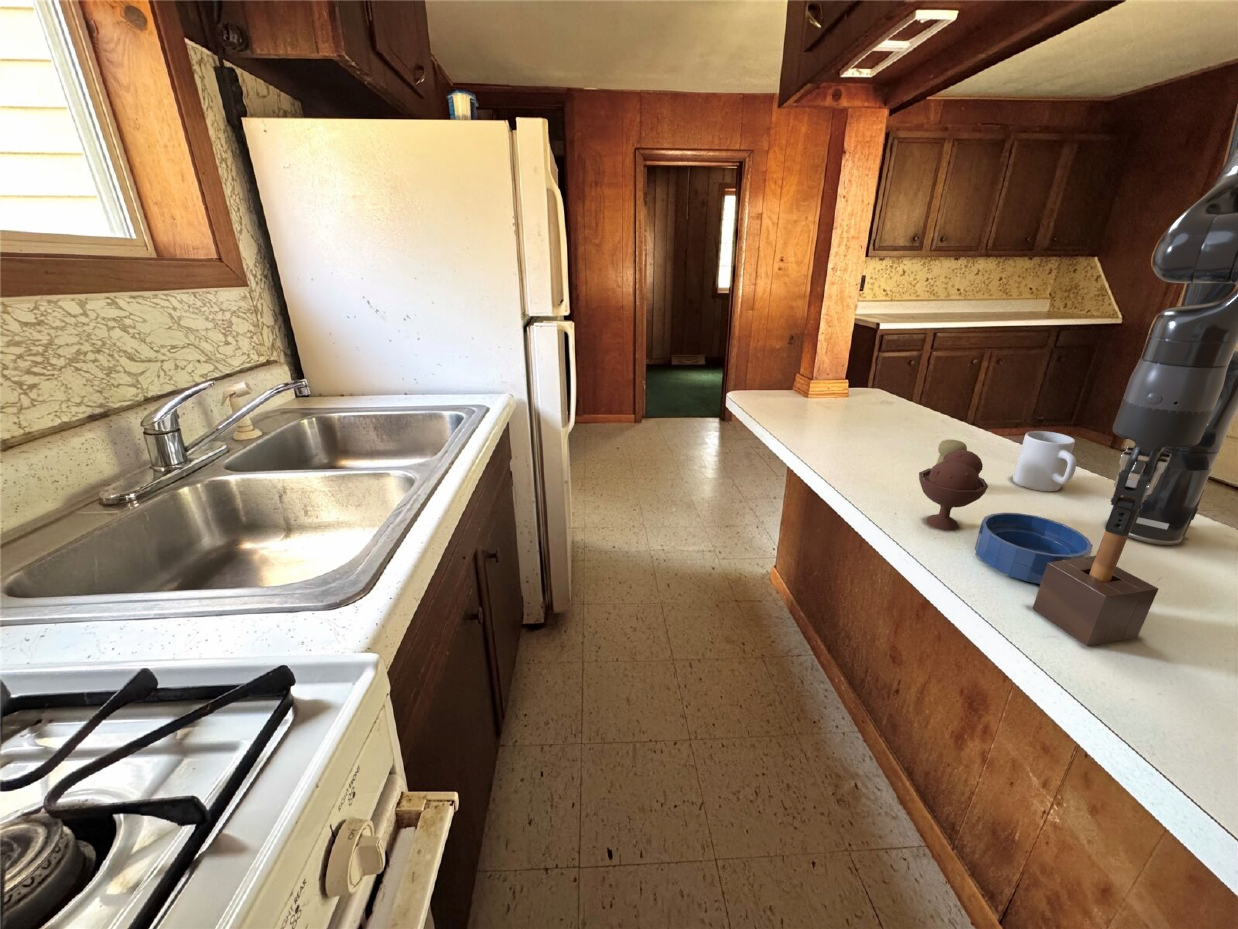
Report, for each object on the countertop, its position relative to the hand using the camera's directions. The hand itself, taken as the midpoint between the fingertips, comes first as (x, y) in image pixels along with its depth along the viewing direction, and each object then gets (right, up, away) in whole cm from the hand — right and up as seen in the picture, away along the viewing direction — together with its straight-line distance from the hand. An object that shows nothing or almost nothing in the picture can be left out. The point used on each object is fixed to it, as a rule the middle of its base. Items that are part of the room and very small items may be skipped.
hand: (1118, 528), depth 66 cm
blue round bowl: (+3, -8, +19) cm, 21 cm away
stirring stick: (0, -14, +6) cm, 15 cm away
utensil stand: (0, -14, +6) cm, 15 cm away
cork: (+7, +3, +47) cm, 48 cm away
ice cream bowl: (-2, -3, +33) cm, 33 cm away
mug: (+28, +3, +46) cm, 54 cm away
